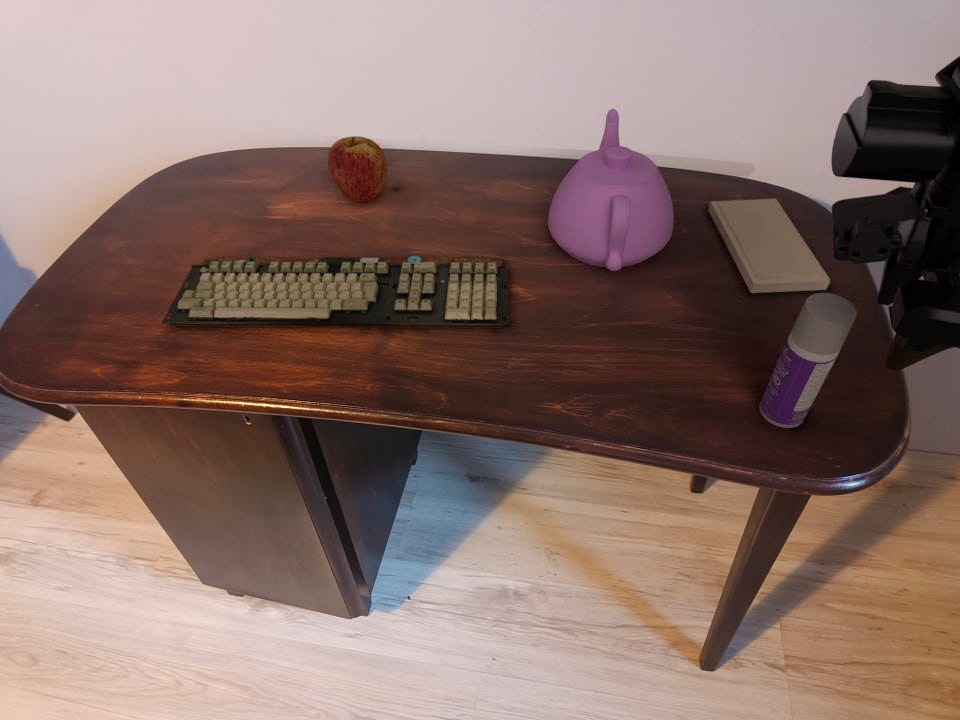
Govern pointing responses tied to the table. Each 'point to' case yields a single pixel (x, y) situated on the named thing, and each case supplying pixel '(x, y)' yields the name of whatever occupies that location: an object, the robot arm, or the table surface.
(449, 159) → the table surface
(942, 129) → the robot arm
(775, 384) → the container
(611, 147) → the teapot
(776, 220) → the tile
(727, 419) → the table surface
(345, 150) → the apple
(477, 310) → the keyboard
